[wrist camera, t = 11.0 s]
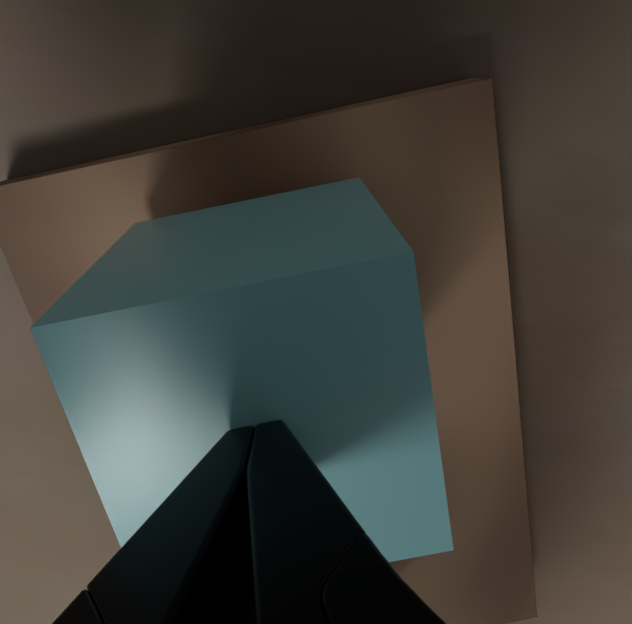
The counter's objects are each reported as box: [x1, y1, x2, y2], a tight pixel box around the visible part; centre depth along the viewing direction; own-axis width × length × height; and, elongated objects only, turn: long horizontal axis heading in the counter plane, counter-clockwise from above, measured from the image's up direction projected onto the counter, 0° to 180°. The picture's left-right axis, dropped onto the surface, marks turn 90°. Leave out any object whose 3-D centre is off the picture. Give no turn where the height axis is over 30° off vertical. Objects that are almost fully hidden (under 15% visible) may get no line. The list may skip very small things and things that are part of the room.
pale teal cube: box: [30, 177, 453, 562], centre depth 12 cm, size 5×5×6 cm
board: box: [0, 78, 537, 624], centre depth 17 cm, size 12×17×2 cm
